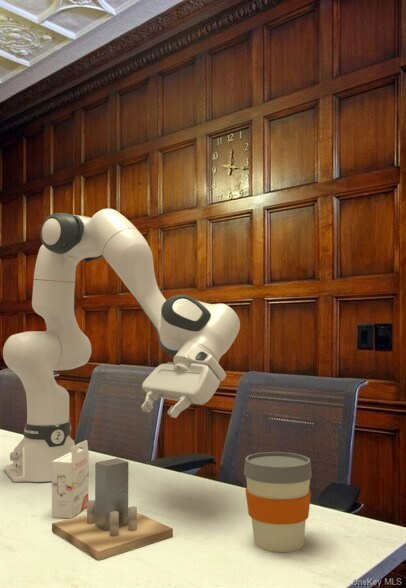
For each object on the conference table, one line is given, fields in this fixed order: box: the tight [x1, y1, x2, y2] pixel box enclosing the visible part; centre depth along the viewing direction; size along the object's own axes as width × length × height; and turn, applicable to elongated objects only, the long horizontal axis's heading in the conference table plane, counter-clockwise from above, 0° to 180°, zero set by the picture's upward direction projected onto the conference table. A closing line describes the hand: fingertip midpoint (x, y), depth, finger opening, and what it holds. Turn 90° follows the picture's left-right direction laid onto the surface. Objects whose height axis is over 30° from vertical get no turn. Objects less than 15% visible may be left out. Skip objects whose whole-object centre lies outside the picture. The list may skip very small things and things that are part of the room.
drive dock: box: [51, 499, 174, 561], centre depth 104 cm, size 18×16×6 cm
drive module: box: [94, 457, 129, 531], centre depth 104 cm, size 4×5×12 cm
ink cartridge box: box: [51, 439, 90, 519], centre depth 117 cm, size 9×5×15 cm, turn 168°
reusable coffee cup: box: [243, 451, 313, 553], centre depth 99 cm, size 13×13×15 cm
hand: (157, 412), depth 113 cm, fingers open, 8 cm apart
